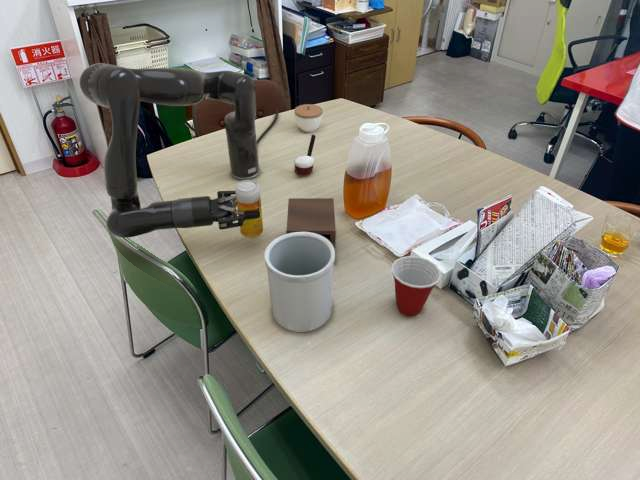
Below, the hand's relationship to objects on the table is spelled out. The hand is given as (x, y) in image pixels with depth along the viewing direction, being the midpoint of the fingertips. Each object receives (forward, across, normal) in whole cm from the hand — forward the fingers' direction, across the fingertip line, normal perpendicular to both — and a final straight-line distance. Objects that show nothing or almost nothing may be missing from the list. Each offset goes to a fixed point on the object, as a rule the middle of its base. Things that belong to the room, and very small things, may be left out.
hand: (258, 205), depth 119 cm
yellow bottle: (-2, 0, +9) cm, 9 cm away
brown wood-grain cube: (+13, -5, +12) cm, 18 cm away
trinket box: (+24, +65, +12) cm, 71 cm away
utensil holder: (+7, -27, +12) cm, 30 cm away
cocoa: (+18, +33, +12) cm, 39 cm away
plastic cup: (+32, -31, +12) cm, 46 cm away
